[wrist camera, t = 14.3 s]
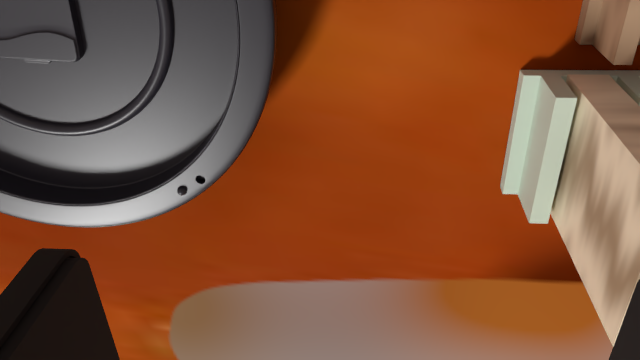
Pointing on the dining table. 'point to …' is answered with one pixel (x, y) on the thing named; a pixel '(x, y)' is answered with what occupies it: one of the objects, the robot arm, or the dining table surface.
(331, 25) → the dining table surface
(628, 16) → the rack
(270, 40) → the round tray
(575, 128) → the birch board
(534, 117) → the slotted stand
